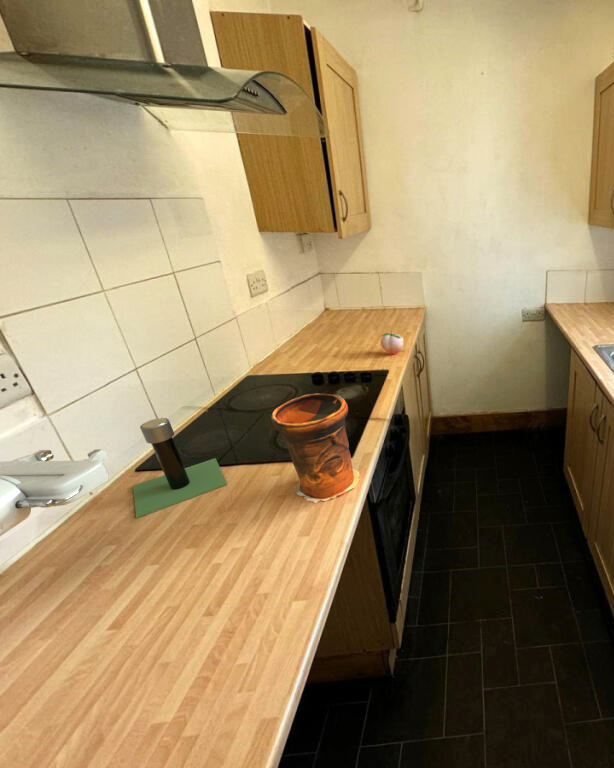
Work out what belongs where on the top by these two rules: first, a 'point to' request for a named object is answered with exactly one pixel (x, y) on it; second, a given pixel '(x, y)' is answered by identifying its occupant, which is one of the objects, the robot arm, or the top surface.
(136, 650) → the top surface
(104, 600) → the top surface
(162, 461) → the torch
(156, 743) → the top surface
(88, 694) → the top surface
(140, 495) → the cloth
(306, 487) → the vessel
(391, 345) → the decorative fruit
